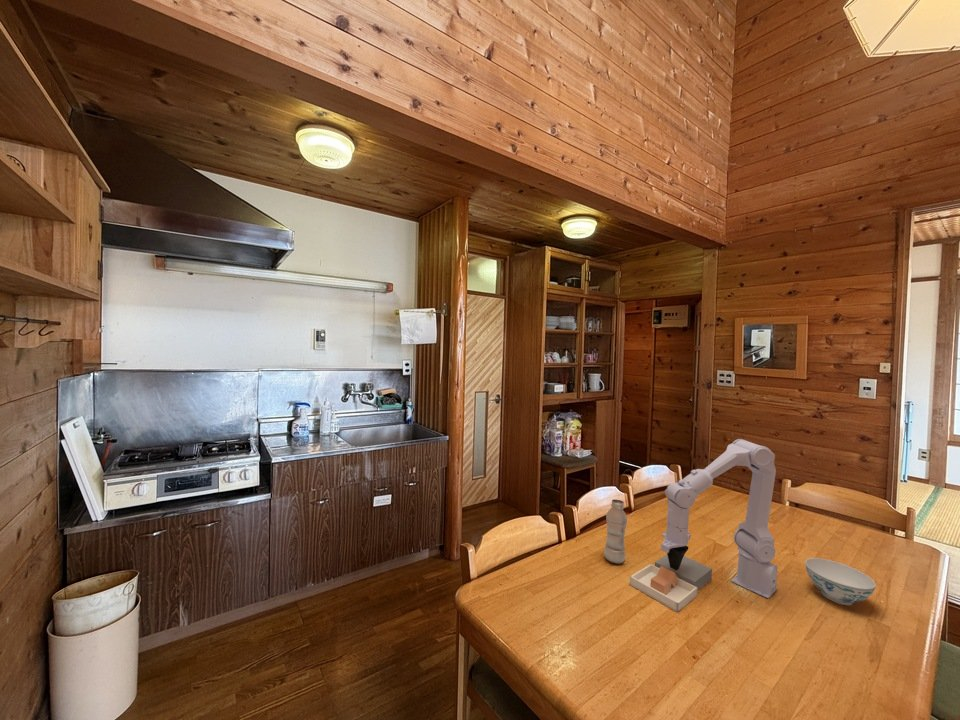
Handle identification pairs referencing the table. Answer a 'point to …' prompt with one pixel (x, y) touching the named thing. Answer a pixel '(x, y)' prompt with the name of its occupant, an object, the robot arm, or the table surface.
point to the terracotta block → (661, 584)
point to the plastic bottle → (615, 532)
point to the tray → (673, 599)
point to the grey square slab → (689, 571)
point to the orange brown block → (668, 575)
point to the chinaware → (839, 581)
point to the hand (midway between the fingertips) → (674, 568)
